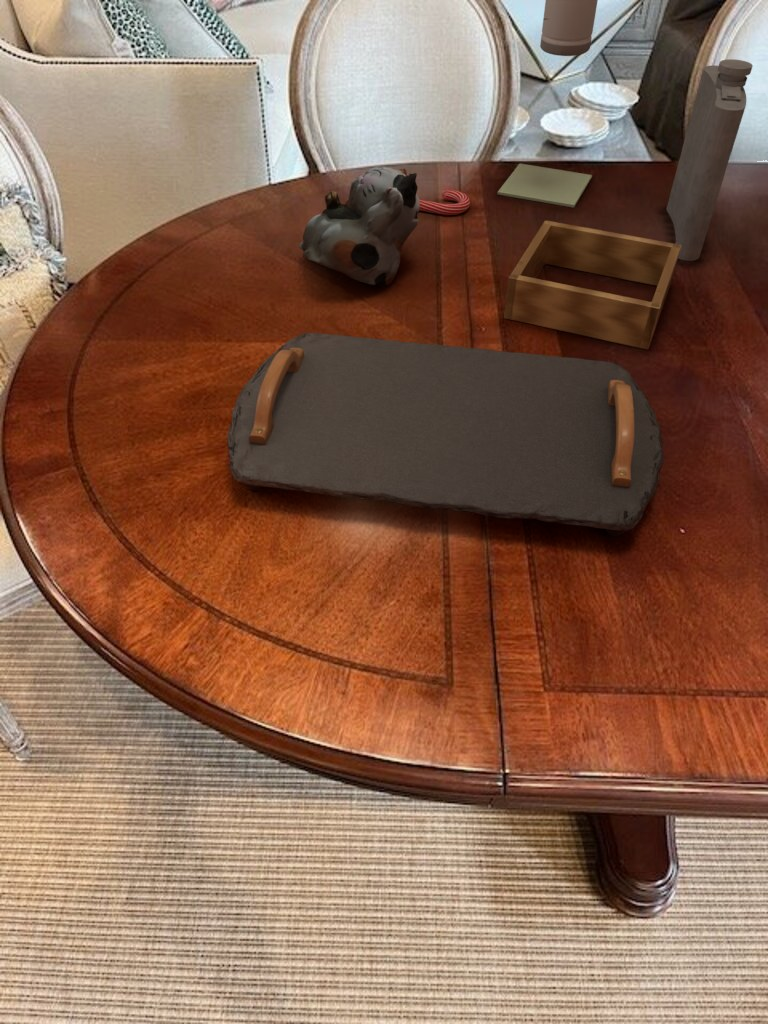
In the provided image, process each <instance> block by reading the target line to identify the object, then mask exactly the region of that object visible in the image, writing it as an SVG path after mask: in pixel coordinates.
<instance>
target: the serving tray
mask: <svg viewBox="0 0 768 1024" xmlns="http://www.w3.org/2000/svg"><path fill="white" fill-rule="evenodd" d="M226 440H227V441H226V445H227V448H228V453H227V454H228V459H229V464H228V465H229V466H228V467H229V469H230V472H231V475H232V477H233V479H234V481H236V482H237V483H240V484H242V485H243V486H244V487H245V488H247V490H248V491H250V492H257V491H259V490H261V489H262V488H263V487H264V488H272V489H273V488H275V489H281V490H287V491H296V492H304V493H312V494H320V495H325V496H326V495H327V496H332V497H337V498H341V499H358V500H359V499H360V500H361V499H362V500H375V501H376V500H378V501H385V502H390V503H396V504H400V505H404V506H408V507H419V508H422V509H428V510H429V509H430V510H449V511H453V512H464V513H465V512H466V513H473V514H478V515H482V516H490V517H491V516H492V517H495V518H497V519H503V520H516V519H524V520H533V519H535V520H538V521H541V522H544V523H559V524H563V525H571V526H577V527H578V526H579V527H588V528H595V529H603V530H605V532H606V534H608V535H609V536H611V537H620V536H621V535H622V534H624V533H626V532H627V531H629V530H632V529H634V527H635V526H637V525H638V524H639V522H641V519H642V518H643V516H644V513H645V510H646V509H647V506H648V505H649V503H650V502H651V500H652V499H653V498H654V497H655V495H656V490H657V487H658V485H659V484H660V471H661V469H662V467H663V464H664V462H665V455H664V451H663V445H664V444H663V439H662V429H661V425H660V423H659V421H658V420H657V416H656V412H655V411H654V409H653V408H652V405H651V403H650V402H649V400H648V399H647V395H646V394H645V392H644V391H643V390H642V389H641V387H640V386H639V385H638V384H637V383H636V381H635V380H634V379H633V377H632V374H631V373H630V372H629V371H628V370H627V369H625V368H624V366H622V365H620V364H619V363H616V362H611V361H606V360H593V359H584V358H579V357H568V356H565V357H563V356H562V357H561V356H558V355H557V356H556V355H548V354H547V355H546V354H536V353H535V354H534V353H529V352H528V353H527V352H508V351H502V350H496V349H495V350H494V349H489V348H476V347H466V346H465V347H464V346H459V345H457V346H455V345H444V344H440V343H439V344H438V343H422V342H416V341H415V342H410V341H402V340H401V341H400V340H391V339H383V338H373V337H363V336H350V335H345V334H329V333H321V332H303V333H301V334H299V335H297V336H295V337H293V338H290V339H289V340H287V341H286V342H285V343H284V344H283V345H282V346H280V347H279V348H278V349H277V350H276V351H275V352H274V353H272V354H270V355H269V356H268V357H267V358H266V359H265V360H264V361H263V362H262V363H261V364H260V365H259V366H258V368H257V370H256V372H255V373H254V374H253V375H252V377H251V378H250V379H249V380H248V381H247V382H246V383H245V385H244V386H243V387H242V389H241V391H240V393H239V395H238V396H237V399H236V400H235V404H234V407H233V409H232V412H231V421H230V426H229V429H228V432H227V438H226Z"/></svg>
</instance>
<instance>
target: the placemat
mask: <svg viewBox="0 0 768 1024" xmlns="http://www.w3.org/2000/svg"><path fill="white" fill-rule="evenodd" d="M592 178H593V175H592V174H588V173H580V172H575V171H570V170H563V169H558V168H557V169H556V168H550V167H544V166H538V165H532V164H525V163H519V164H517V166H516V167H515V168H514V170H513V171H512V172H511V174H510V175H509V176H508V178H507V179H506V180H505V182H504V183H503V184H502V186H501V187H500V188H499V189H498V191H497V194H496V195H497V196H504V197H510V198H516V199H520V200H521V199H522V200H525V201H526V200H527V201H533V202H538V203H545V204H549V205H556V206H561V207H568V208H575V207H576V205H577V203H578V202H579V200H580V198H581V196H582V195H583V193H584V192H585V190H586V188H587V187H588V185H589V183H590V181H591V180H592Z"/></svg>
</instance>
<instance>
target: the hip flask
mask: <svg viewBox="0 0 768 1024" xmlns="http://www.w3.org/2000/svg"><path fill="white" fill-rule="evenodd" d="M753 67H754V65H753V64H752V63H751V62H749V61H746V60H741V59H733V58H731V59H723V60H720V61H719V63H718V65H712V64H711V65H706V66H704V67H703V68H702V73H701V77H700V79H699V84H698V88H697V92H696V96H695V99H694V104H693V107H692V110H691V114H690V117H689V118H690V119H689V122H688V126H687V130H686V133H685V137H684V140H683V145H682V148H681V152H680V156H679V160H678V164H677V168H676V172H675V175H674V179H673V183H672V186H671V189H670V194H669V198H668V202H667V205H666V212H667V213H668V215H669V217H670V220H671V222H672V225H673V228H674V235H675V243H674V244H679V245H682V246H681V250H680V253H679V257H678V260H681V261H685V262H694V261H697V260H699V258H700V256H701V252H702V250H703V247H704V243H705V240H706V237H707V233H708V230H709V227H710V223H711V221H712V218H713V214H714V210H715V208H716V204H717V200H718V197H719V194H720V191H721V188H722V184H723V181H724V178H725V175H726V172H727V168H728V165H729V162H730V158H731V155H732V153H733V149H734V145H735V142H736V140H737V139H736V138H737V135H738V133H739V129H740V126H741V122H742V120H743V116H744V114H745V109H746V106H747V94H746V90H745V88H744V87H745V86H746V84H747V80H748V77H747V76H749V75H751V72H752V70H753Z"/></svg>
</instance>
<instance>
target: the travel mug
mask: <svg viewBox="0 0 768 1024" xmlns="http://www.w3.org/2000/svg"><path fill="white" fill-rule="evenodd" d="M544 2H545V3H544V10H543V19H542V28H541V36H540V45H539V47H540V49H541V51H543V53H544V52H545V54H548V55H553V56H558V57H559V56H561V57H575V56H581V55H584V54H586V53H587V52H589V50H590V49H591V46H592V45H591V44H592V37H593V36H592V35H593V33H594V26H595V19H596V14H597V8H598V0H545V1H544Z"/></svg>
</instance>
